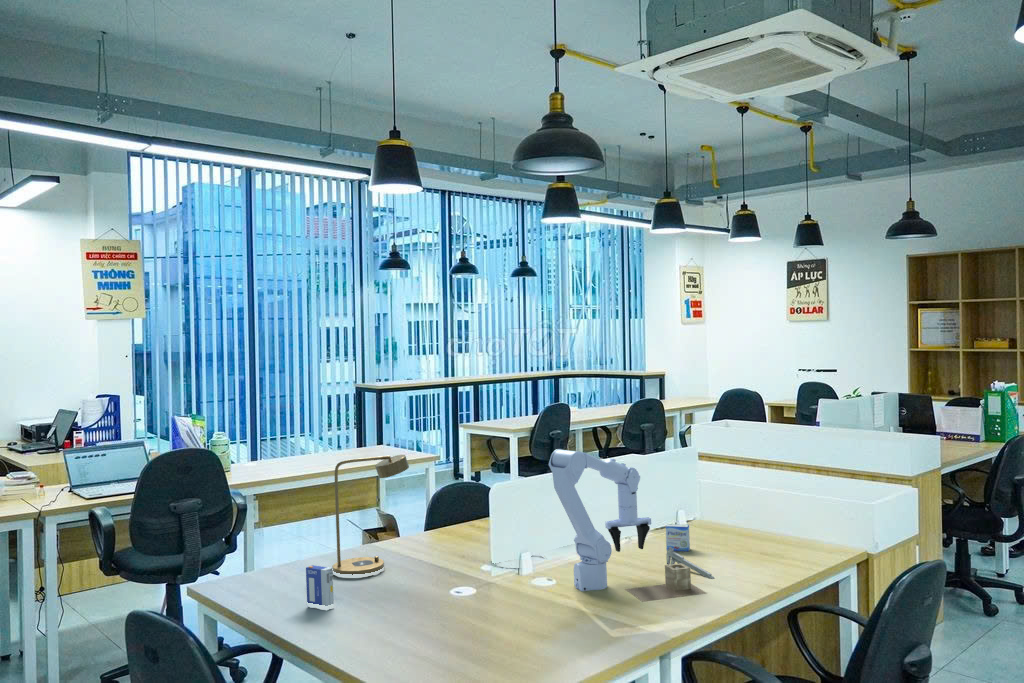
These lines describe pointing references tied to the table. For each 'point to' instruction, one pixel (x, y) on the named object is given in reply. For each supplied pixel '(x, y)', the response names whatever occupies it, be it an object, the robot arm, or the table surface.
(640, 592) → the brown board with peg
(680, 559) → the caliper
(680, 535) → the medicine box
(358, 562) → the lamp
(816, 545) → the table surface
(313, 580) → the walkman
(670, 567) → the hollow square tube
